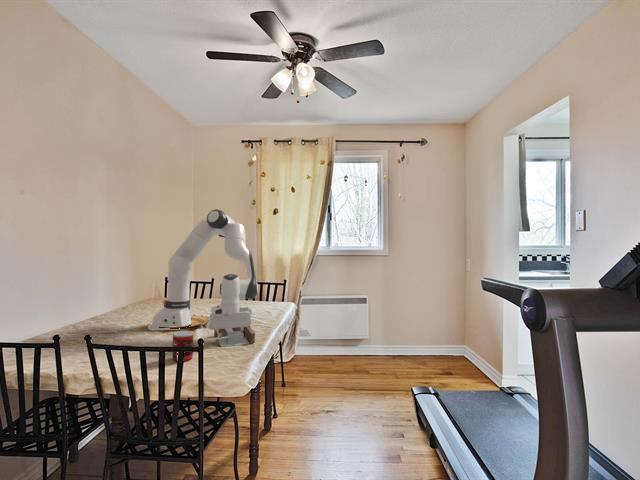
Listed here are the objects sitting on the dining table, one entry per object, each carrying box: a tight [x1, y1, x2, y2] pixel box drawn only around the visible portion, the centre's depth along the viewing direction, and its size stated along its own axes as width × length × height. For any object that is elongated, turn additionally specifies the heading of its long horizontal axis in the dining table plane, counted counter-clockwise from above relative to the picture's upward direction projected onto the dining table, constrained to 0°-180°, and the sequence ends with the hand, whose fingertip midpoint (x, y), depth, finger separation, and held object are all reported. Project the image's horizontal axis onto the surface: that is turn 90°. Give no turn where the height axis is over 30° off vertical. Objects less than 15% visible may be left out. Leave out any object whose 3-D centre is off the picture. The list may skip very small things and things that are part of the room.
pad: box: [216, 335, 250, 348], centre depth 177 cm, size 13×14×1 cm
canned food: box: [172, 330, 194, 363], centre depth 151 cm, size 8×8×11 cm
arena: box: [213, 325, 256, 345], centre depth 179 cm, size 18×18×5 cm
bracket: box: [224, 328, 244, 345], centre depth 177 cm, size 11×7×5 cm, turn 23°
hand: (229, 336), depth 176 cm, fingers open, 8 cm apart
